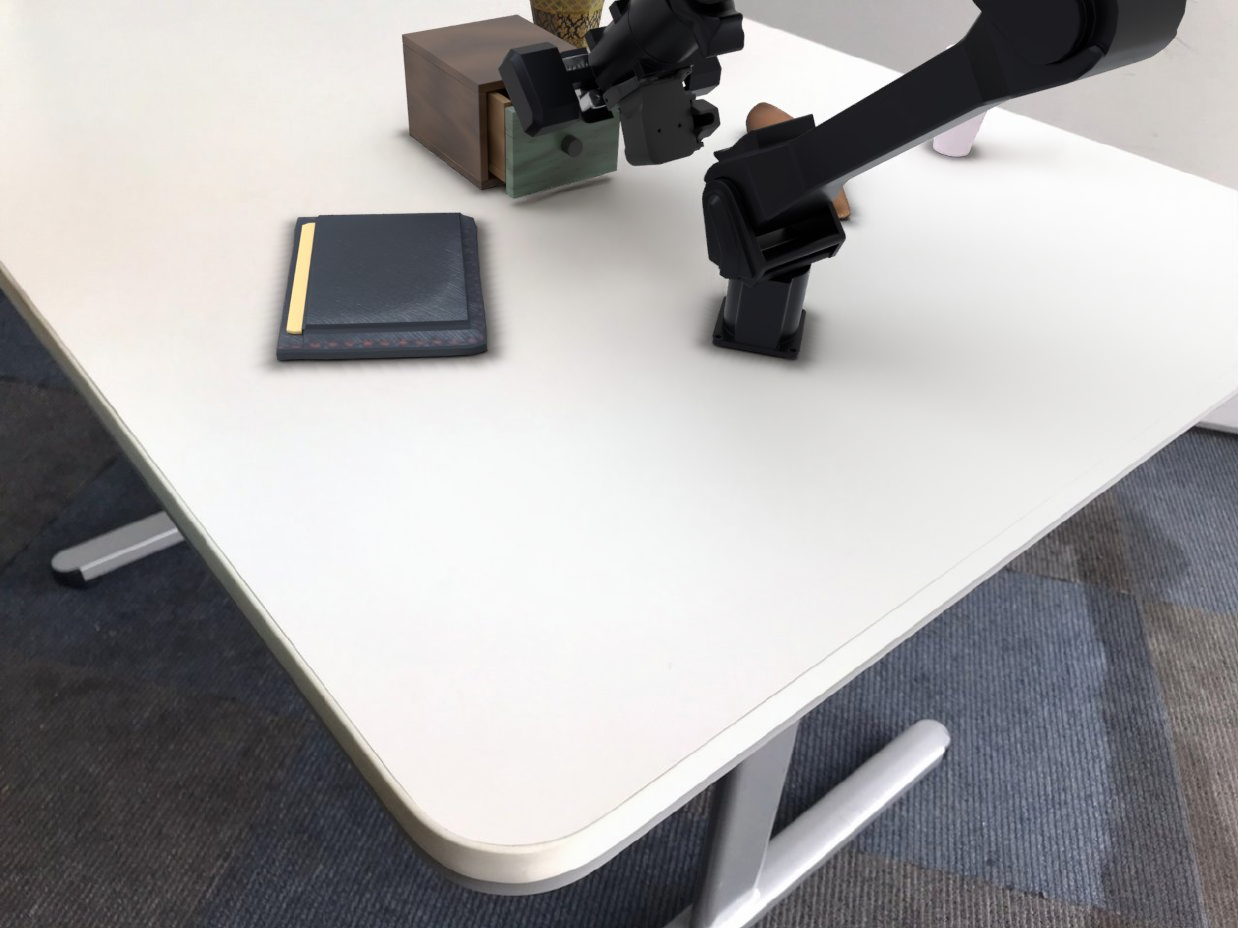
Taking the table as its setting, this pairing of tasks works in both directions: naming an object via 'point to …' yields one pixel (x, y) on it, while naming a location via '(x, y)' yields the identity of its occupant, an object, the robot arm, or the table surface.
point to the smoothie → (958, 136)
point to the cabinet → (462, 86)
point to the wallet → (383, 288)
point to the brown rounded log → (771, 115)
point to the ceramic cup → (568, 18)
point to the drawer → (546, 150)
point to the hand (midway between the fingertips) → (570, 117)
